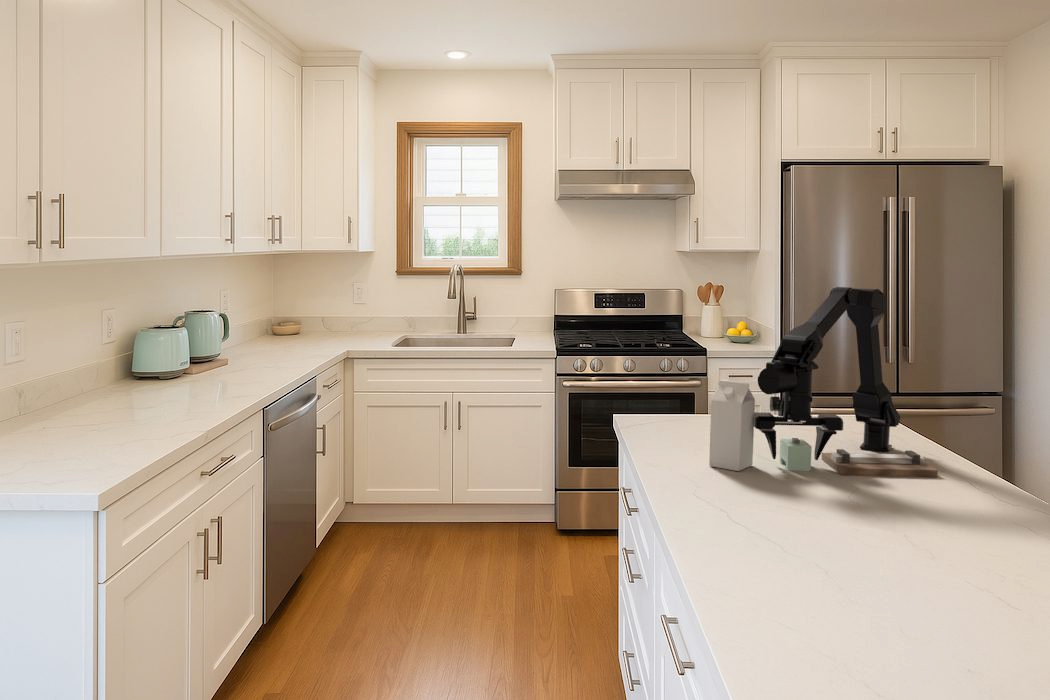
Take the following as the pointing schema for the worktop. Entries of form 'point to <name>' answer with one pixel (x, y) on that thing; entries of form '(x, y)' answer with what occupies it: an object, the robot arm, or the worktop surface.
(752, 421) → the milk carton
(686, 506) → the worktop surface
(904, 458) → the rail board
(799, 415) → the robot arm
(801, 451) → the block
